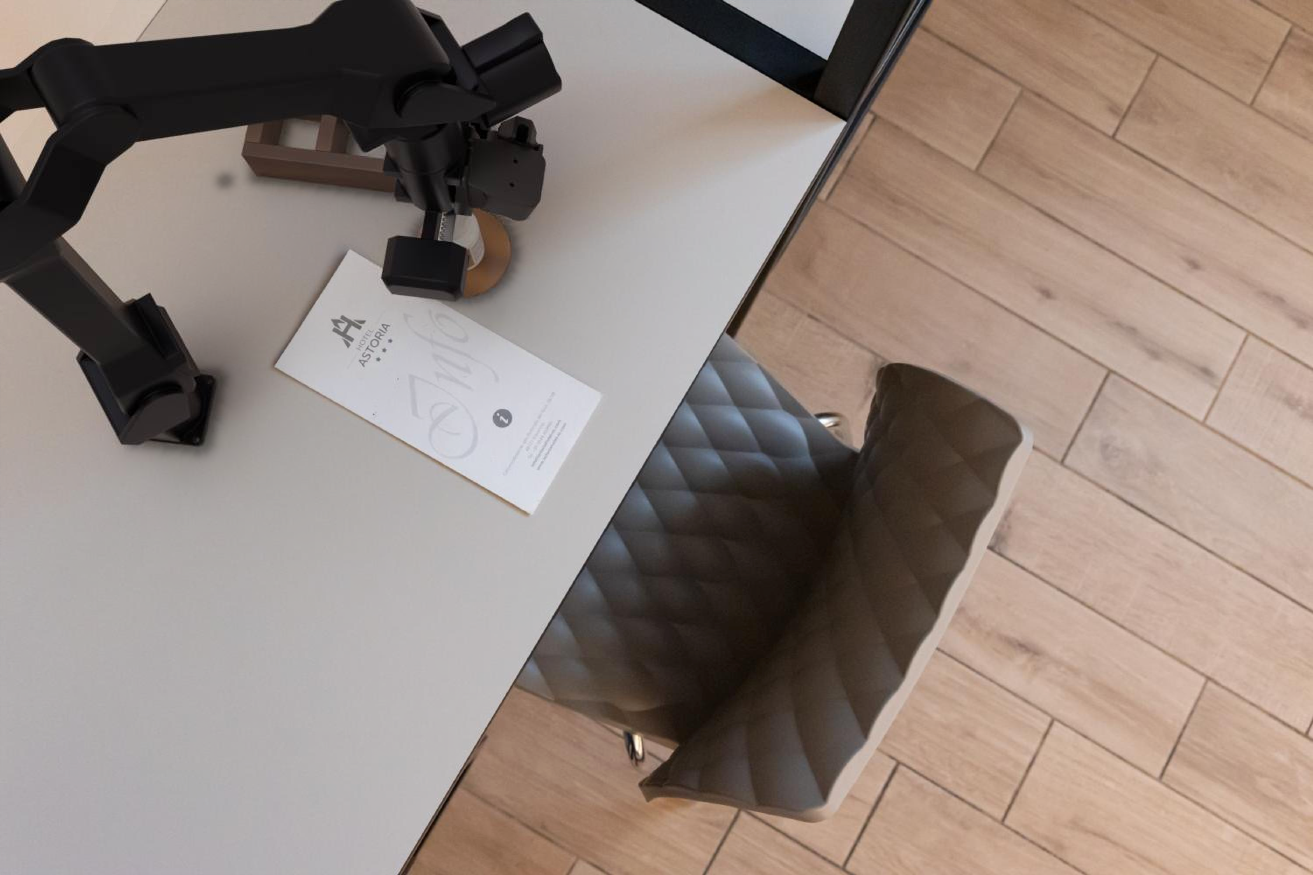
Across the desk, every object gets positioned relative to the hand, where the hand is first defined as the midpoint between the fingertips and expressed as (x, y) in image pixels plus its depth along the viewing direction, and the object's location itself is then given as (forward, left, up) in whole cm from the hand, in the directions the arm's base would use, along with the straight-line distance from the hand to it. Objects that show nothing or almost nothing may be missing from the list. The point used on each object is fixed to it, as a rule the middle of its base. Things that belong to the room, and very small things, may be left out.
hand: (454, 229), depth 87 cm
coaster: (0, 0, -5) cm, 5 cm away
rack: (+9, +10, -5) cm, 14 cm away
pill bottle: (0, 0, -5) cm, 5 cm away
